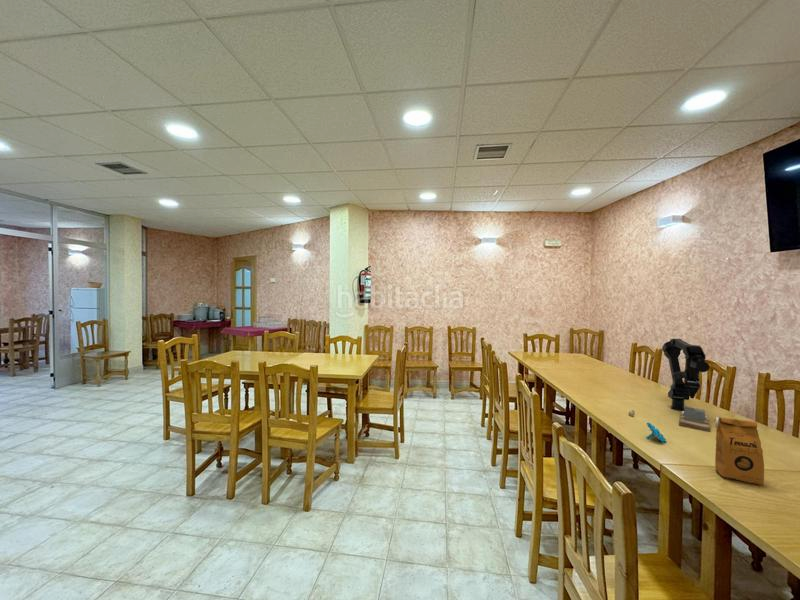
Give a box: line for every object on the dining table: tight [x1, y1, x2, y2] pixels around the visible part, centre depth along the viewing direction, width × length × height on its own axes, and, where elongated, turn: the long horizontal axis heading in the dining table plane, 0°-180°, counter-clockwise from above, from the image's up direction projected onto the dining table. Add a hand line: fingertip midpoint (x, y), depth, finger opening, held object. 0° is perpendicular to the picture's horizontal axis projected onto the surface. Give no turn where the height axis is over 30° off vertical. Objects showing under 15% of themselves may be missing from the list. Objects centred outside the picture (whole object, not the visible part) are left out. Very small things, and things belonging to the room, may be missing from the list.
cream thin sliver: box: [715, 416, 725, 429], centre depth 172 cm, size 5×5×5 cm
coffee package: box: [714, 416, 765, 486], centre depth 126 cm, size 10×12×22 cm
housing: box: [681, 406, 708, 424], centre depth 177 cm, size 5×10×6 cm, turn 49°
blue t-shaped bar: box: [645, 422, 667, 444], centre depth 159 cm, size 11×6×10 cm
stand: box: [678, 414, 711, 433], centre depth 177 cm, size 14×12×2 cm
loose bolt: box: [628, 409, 635, 417], centre depth 191 cm, size 7×3×3 cm, turn 139°
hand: (691, 396), depth 186 cm, fingers open, 9 cm apart
